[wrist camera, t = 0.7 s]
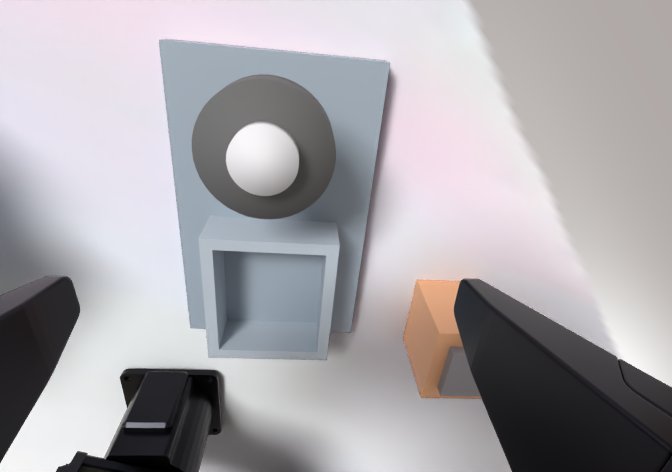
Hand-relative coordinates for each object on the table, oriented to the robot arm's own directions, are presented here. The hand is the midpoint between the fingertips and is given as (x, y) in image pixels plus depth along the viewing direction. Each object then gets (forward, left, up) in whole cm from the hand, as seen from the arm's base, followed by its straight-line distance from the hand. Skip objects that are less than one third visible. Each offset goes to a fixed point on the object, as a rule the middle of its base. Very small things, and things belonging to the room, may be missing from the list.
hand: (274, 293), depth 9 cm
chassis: (-4, +1, -13) cm, 13 cm away
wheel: (+1, +1, -7) cm, 8 cm away
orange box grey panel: (-11, -10, -13) cm, 19 cm away
